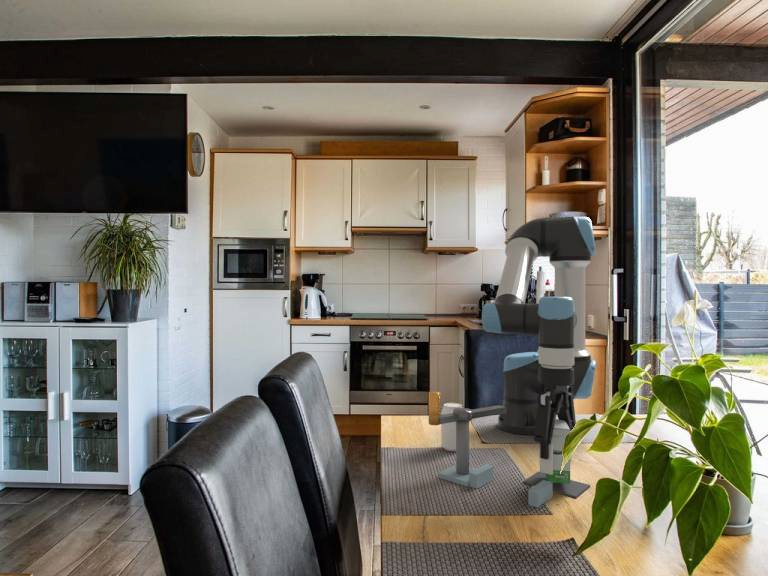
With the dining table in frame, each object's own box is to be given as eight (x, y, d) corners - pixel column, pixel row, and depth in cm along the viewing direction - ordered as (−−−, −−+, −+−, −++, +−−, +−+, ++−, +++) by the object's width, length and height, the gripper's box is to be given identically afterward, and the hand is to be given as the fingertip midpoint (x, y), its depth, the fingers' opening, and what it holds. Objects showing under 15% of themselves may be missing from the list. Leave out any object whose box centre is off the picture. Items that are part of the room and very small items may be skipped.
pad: (538, 473, 117) (538, 471, 117) (590, 486, 109) (590, 484, 109) (522, 483, 111) (522, 481, 111) (576, 498, 103) (576, 496, 103)
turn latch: (424, 422, 112) (424, 391, 112) (496, 409, 123) (496, 381, 123) (435, 427, 108) (435, 395, 108) (509, 413, 119) (509, 384, 119)
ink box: (571, 484, 106) (571, 428, 106) (547, 482, 107) (546, 427, 107) (564, 469, 114) (564, 418, 114) (542, 468, 115) (542, 417, 115)
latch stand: (457, 467, 121) (457, 413, 121) (553, 495, 105) (553, 433, 105) (438, 477, 115) (438, 420, 115) (536, 508, 99) (536, 442, 99)
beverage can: (462, 453, 131) (462, 408, 131) (439, 451, 133) (439, 406, 133) (465, 446, 137) (465, 402, 137) (443, 444, 139) (443, 401, 139)
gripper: (559, 358, 121) (559, 450, 121) (516, 370, 105) (517, 476, 105) (591, 361, 116) (591, 457, 116) (551, 374, 100) (551, 485, 100)
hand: (556, 466), depth 110 cm, fingers closed on ink box, 9 cm apart
